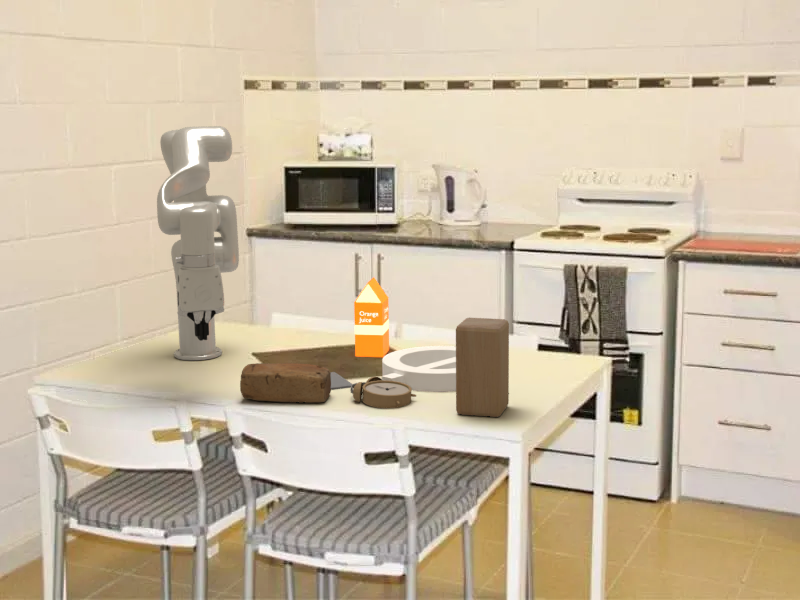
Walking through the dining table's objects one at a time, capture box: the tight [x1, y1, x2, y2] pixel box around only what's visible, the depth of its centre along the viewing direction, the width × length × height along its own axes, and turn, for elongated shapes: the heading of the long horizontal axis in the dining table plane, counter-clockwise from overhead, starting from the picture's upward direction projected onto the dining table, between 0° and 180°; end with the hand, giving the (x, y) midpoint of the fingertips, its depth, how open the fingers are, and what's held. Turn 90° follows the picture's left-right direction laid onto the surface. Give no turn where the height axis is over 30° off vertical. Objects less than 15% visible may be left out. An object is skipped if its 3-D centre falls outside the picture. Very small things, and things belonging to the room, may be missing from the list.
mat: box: [330, 371, 353, 390], centre depth 278 cm, size 14×22×1 cm, turn 113°
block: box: [239, 362, 332, 404], centre depth 267 cm, size 11×8×20 cm
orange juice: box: [353, 276, 390, 358], centre depth 307 cm, size 8×9×20 cm
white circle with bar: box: [381, 345, 456, 393], centre depth 284 cm, size 28×28×5 cm
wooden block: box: [455, 317, 510, 418], centre depth 253 cm, size 10×10×20 cm
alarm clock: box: [350, 376, 417, 409], centre depth 264 cm, size 11×5×15 cm
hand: (202, 338), depth 267 cm, fingers closed
